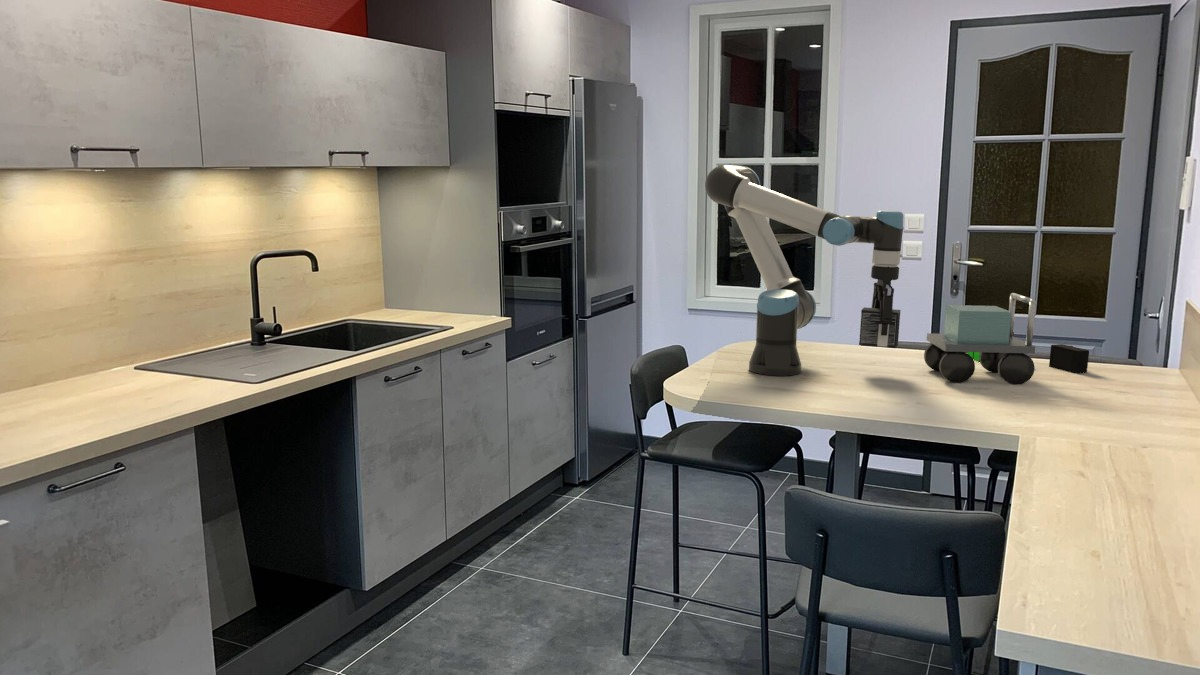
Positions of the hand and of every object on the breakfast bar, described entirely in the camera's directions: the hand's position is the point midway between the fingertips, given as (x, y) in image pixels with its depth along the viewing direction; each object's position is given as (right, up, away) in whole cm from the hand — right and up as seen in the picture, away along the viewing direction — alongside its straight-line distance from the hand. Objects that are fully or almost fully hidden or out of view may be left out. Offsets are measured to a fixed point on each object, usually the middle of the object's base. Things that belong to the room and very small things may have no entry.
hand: (878, 343), depth 256 cm
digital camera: (+60, -8, +9) cm, 62 cm away
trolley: (+27, -10, -3) cm, 29 cm away
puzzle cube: (+42, -6, +23) cm, 48 cm away
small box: (0, -1, 0) cm, 1 cm away
